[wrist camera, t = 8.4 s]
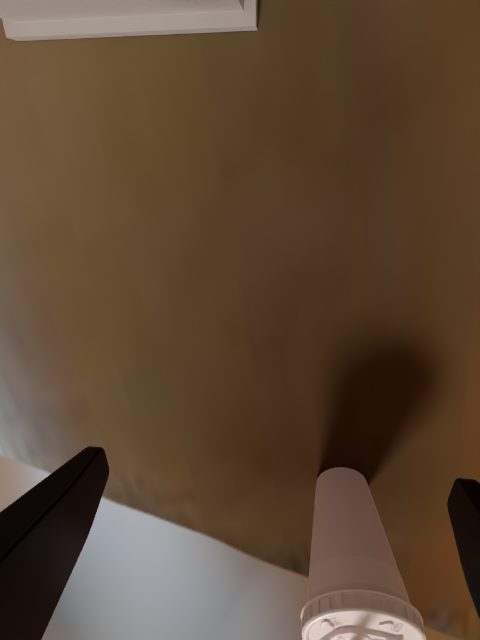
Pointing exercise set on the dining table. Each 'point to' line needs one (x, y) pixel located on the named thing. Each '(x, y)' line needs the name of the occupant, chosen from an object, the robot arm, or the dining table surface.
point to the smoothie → (353, 568)
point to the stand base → (123, 17)
